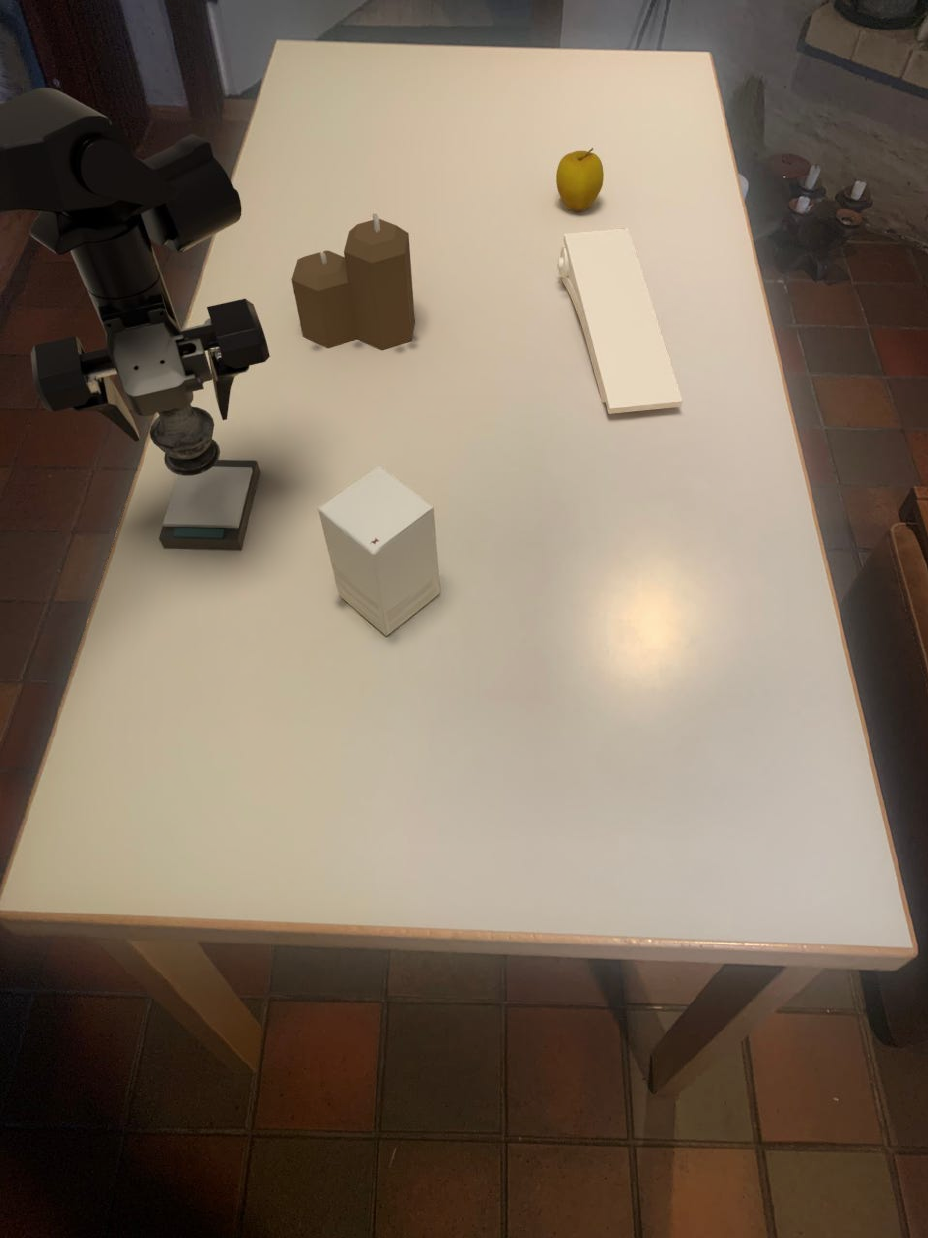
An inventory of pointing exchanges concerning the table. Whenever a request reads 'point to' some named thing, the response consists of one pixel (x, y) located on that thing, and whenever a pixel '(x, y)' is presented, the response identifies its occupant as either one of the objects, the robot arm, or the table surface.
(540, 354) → the table surface
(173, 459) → the pepper mill
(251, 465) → the kitchen scale
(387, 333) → the candle
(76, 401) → the robot arm
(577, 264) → the wall bracket
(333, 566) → the white packaging box
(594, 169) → the apple
